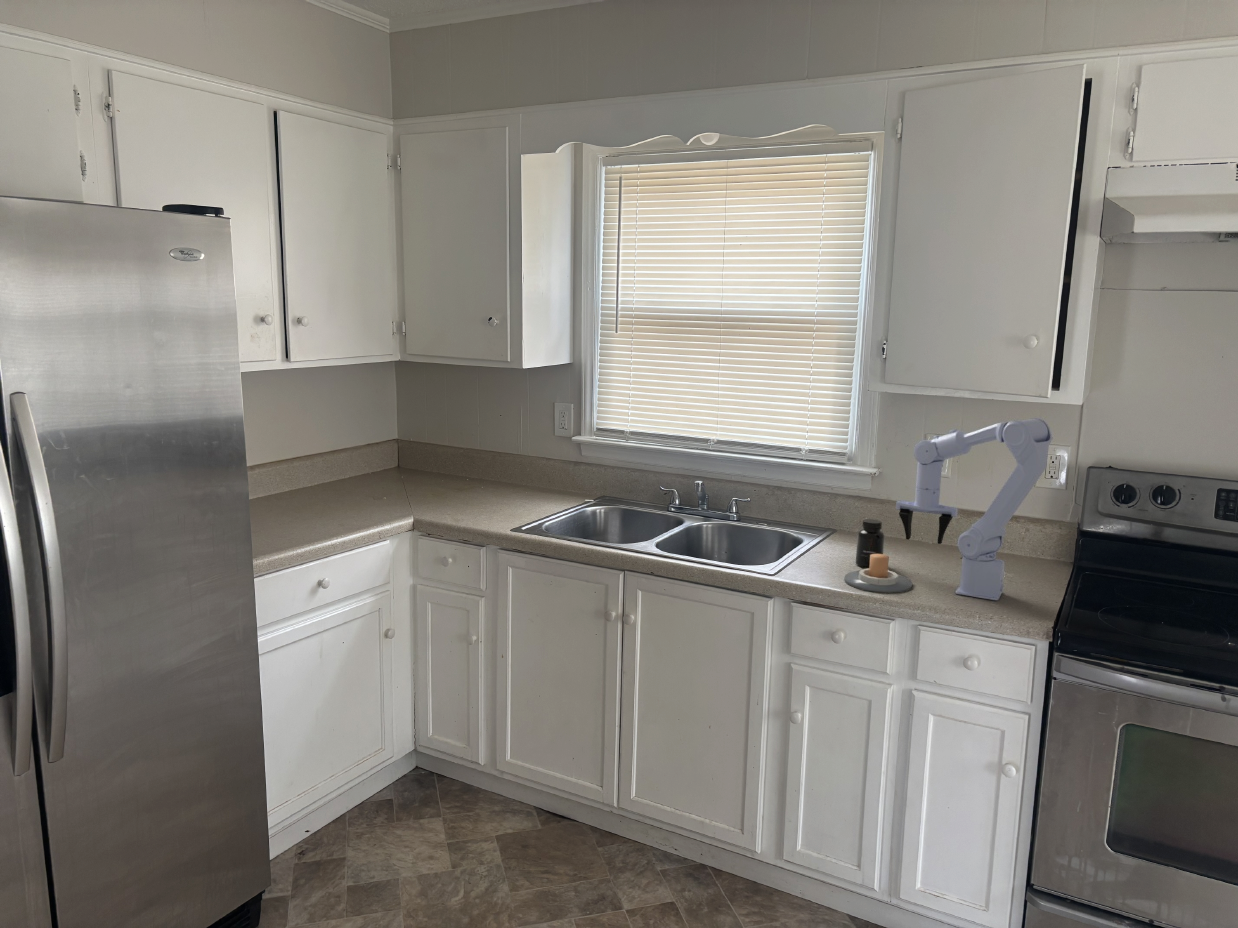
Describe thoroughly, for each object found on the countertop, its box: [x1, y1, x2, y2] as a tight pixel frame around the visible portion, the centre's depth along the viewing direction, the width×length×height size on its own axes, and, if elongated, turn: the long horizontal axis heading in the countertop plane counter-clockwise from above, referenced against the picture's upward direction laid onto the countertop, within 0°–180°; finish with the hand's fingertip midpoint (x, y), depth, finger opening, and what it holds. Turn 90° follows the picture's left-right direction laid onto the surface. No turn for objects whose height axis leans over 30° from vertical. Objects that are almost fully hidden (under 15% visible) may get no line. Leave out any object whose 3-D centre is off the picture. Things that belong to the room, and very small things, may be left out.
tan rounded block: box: [869, 553, 890, 578], centre depth 221 cm, size 4×4×6 cm
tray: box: [843, 568, 913, 594], centre depth 222 cm, size 16×16×2 cm
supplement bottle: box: [855, 518, 886, 569], centre depth 236 cm, size 7×7×12 cm
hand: (923, 540), depth 226 cm, fingers open, 7 cm apart
